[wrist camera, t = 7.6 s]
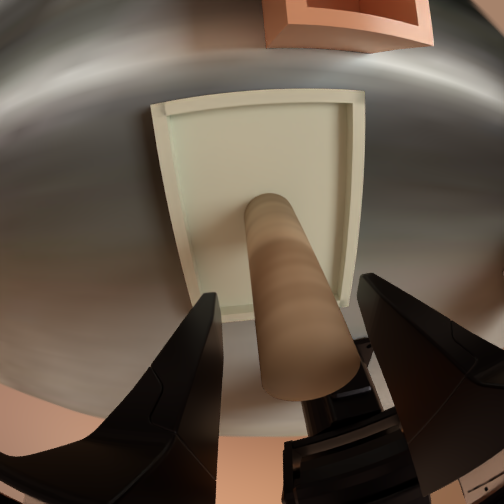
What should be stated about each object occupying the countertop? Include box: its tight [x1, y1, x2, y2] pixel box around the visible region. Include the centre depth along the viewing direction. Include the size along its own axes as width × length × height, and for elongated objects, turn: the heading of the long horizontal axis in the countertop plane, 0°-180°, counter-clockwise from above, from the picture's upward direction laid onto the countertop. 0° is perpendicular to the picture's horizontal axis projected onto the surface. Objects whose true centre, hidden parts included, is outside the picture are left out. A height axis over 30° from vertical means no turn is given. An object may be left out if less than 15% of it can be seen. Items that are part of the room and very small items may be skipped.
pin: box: [244, 193, 361, 401], centre depth 10 cm, size 2×2×9 cm
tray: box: [151, 89, 365, 323], centre depth 14 cm, size 12×9×1 cm
